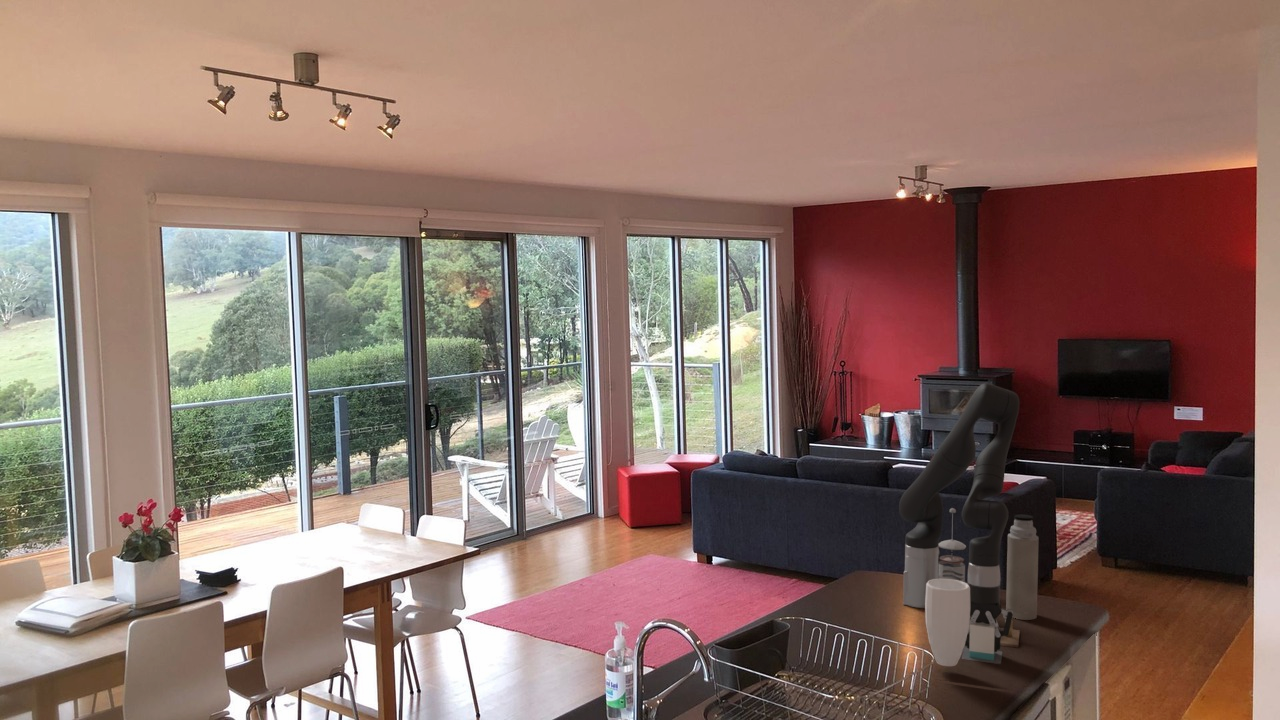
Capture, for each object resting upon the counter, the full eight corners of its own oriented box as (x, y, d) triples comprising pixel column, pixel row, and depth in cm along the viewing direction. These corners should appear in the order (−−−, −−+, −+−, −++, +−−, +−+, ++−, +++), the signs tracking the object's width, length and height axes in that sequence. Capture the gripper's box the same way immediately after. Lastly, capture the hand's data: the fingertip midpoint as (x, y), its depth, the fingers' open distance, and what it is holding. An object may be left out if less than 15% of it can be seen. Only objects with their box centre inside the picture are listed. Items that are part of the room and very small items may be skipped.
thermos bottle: (1002, 610, 277) (1004, 512, 276) (1031, 611, 277) (1034, 512, 275) (1010, 619, 269) (1012, 518, 268) (1040, 620, 269) (1043, 519, 267)
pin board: (971, 643, 250) (972, 620, 250) (975, 629, 262) (975, 606, 261) (1018, 649, 246) (1018, 625, 246) (1019, 634, 257) (1020, 611, 257)
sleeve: (969, 657, 239) (969, 625, 239) (970, 649, 245) (971, 618, 244) (993, 660, 237) (994, 628, 237) (994, 652, 242) (995, 620, 242)
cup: (933, 663, 237) (935, 575, 236) (976, 673, 231) (978, 583, 229) (915, 676, 229) (917, 585, 228) (959, 687, 223) (961, 593, 221)
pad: (961, 661, 239) (961, 658, 239) (964, 648, 247) (964, 646, 247) (1000, 666, 235) (1000, 663, 235) (1002, 653, 243) (1002, 651, 243)
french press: (970, 596, 291) (972, 512, 289) (929, 593, 293) (931, 510, 291) (966, 586, 300) (967, 505, 299) (926, 584, 303) (928, 504, 301)
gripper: (951, 582, 239) (950, 650, 240) (1014, 588, 234) (1013, 658, 235) (954, 574, 246) (953, 640, 247) (1015, 580, 241) (1014, 648, 242)
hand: (982, 648), depth 241 cm, fingers closed on sleeve, 5 cm apart
